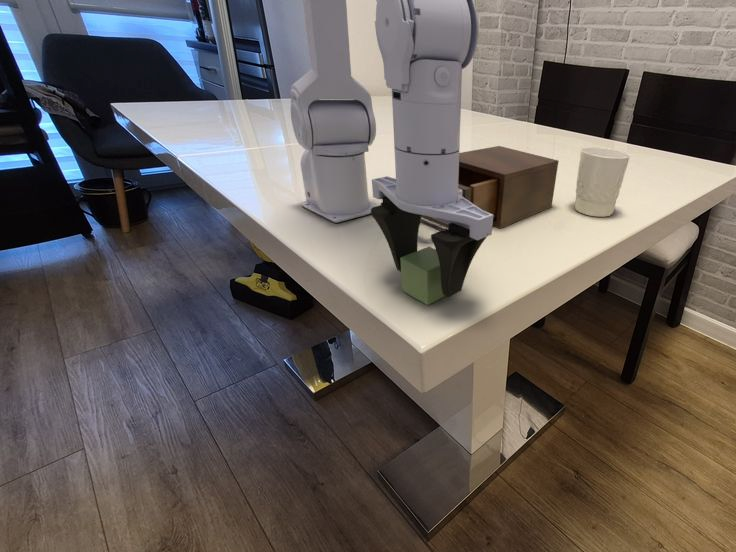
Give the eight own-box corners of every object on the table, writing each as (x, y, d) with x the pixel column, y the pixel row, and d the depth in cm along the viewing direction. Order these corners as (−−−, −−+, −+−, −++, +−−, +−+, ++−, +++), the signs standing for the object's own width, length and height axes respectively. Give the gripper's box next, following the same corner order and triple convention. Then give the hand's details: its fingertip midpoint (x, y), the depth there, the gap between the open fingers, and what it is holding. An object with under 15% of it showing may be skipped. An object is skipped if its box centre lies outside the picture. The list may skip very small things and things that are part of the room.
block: (401, 290, 43) (400, 257, 41) (429, 278, 46) (429, 246, 44) (427, 305, 41) (427, 271, 39) (454, 291, 44) (455, 258, 42)
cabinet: (500, 228, 60) (504, 174, 56) (440, 206, 67) (440, 156, 62) (551, 207, 70) (558, 160, 66) (495, 189, 77) (499, 145, 73)
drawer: (438, 244, 51) (438, 197, 48) (382, 219, 57) (379, 175, 54) (521, 212, 64) (525, 173, 61) (468, 194, 70) (469, 157, 67)
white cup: (624, 213, 71) (639, 155, 66) (599, 222, 66) (612, 160, 61) (588, 200, 76) (598, 145, 71) (561, 207, 71) (571, 149, 66)
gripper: (519, 158, 35) (505, 291, 42) (408, 129, 42) (411, 246, 49) (464, 171, 30) (458, 319, 37) (348, 136, 37) (361, 265, 44)
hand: (428, 279), depth 43 cm, fingers open, 6 cm apart
